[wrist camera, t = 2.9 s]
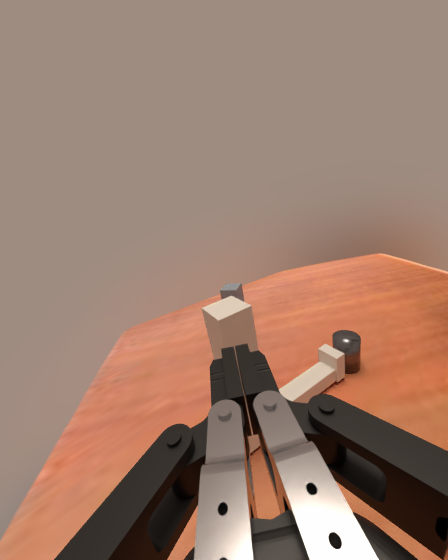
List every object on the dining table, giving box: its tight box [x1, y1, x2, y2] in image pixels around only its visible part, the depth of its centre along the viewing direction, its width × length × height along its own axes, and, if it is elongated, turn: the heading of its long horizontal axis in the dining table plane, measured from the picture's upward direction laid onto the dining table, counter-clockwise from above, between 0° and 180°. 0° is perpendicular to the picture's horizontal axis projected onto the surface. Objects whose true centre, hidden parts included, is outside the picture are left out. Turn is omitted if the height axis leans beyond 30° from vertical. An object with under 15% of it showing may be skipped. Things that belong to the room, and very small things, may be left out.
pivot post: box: [333, 330, 361, 374], centre depth 34 cm, size 4×4×5 cm
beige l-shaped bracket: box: [202, 296, 345, 453], centre depth 27 cm, size 19×4×17 cm, turn 120°
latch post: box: [220, 283, 244, 302], centre depth 43 cm, size 3×3×12 cm
